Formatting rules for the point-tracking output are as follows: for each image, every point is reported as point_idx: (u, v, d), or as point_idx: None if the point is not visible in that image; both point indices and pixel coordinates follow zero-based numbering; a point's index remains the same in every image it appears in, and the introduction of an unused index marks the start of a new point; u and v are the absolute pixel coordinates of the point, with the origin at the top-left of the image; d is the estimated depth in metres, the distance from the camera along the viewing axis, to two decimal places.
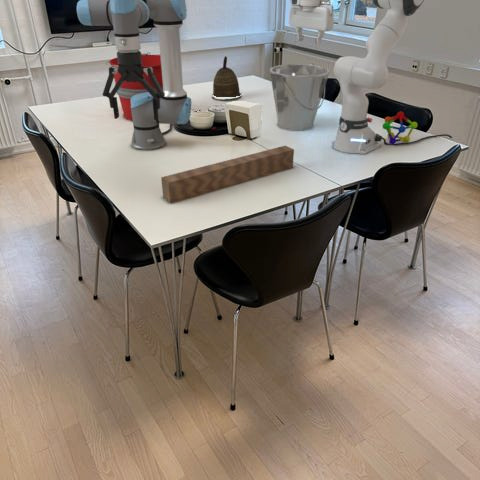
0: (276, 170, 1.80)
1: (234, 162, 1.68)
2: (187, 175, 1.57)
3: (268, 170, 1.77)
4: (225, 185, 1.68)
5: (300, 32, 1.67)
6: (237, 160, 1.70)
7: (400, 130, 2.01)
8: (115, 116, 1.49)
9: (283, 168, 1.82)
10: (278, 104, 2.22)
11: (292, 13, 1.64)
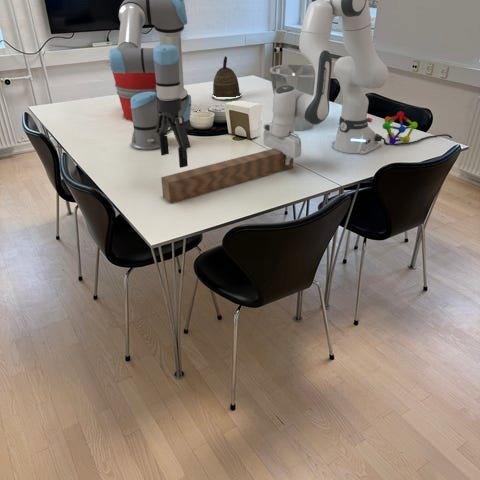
0: (276, 170, 1.80)
1: (234, 162, 1.68)
2: (187, 175, 1.57)
3: (268, 170, 1.77)
4: (225, 185, 1.68)
5: None
6: (237, 160, 1.70)
7: (400, 130, 2.01)
8: None
9: (283, 168, 1.82)
10: None
11: (265, 136, 1.83)
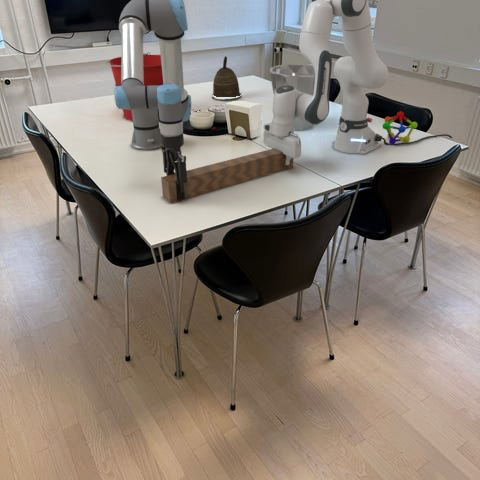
0: (276, 170, 1.80)
1: (234, 162, 1.68)
2: (187, 175, 1.57)
3: (268, 170, 1.77)
4: (225, 185, 1.68)
5: None
6: (237, 160, 1.70)
7: (400, 130, 2.01)
8: None
9: (283, 168, 1.82)
10: None
11: (265, 136, 1.83)
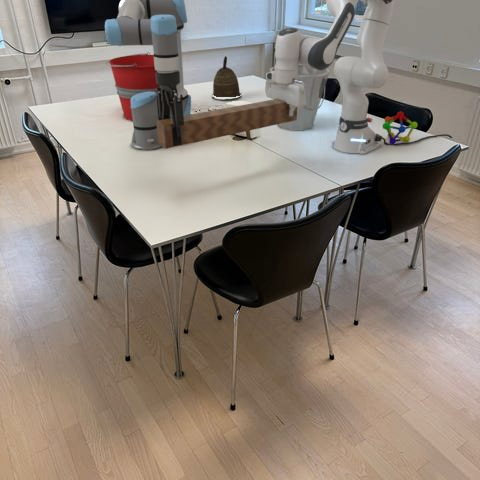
0: (278, 122, 1.70)
1: (234, 109, 1.58)
2: (184, 119, 1.47)
3: (270, 121, 1.67)
4: (225, 134, 1.57)
5: None
6: (237, 108, 1.59)
7: (400, 130, 2.01)
8: None
9: (286, 120, 1.71)
10: None
11: (268, 86, 1.73)
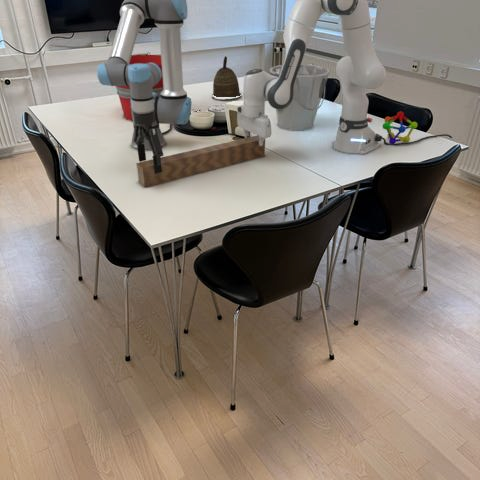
0: (248, 159, 1.91)
1: (206, 150, 1.79)
2: (161, 161, 1.68)
3: (240, 158, 1.88)
4: (198, 171, 1.79)
5: (247, 132, 1.95)
6: (209, 148, 1.81)
7: (400, 130, 2.01)
8: None
9: (255, 156, 1.93)
10: None
11: (239, 118, 1.92)
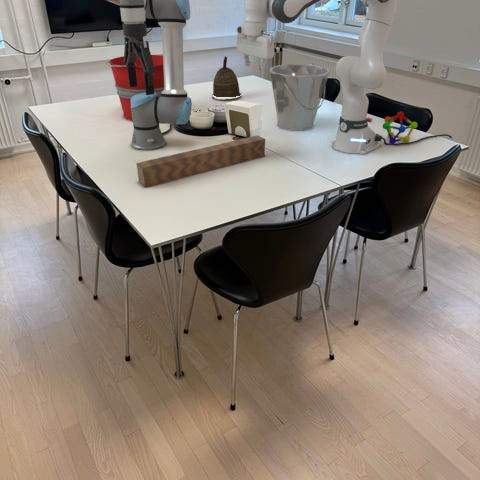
0: (248, 159, 1.91)
1: (206, 150, 1.79)
2: (161, 161, 1.68)
3: (240, 158, 1.88)
4: (198, 171, 1.79)
5: (247, 58, 1.78)
6: (209, 148, 1.81)
7: (400, 130, 2.01)
8: None
9: (255, 156, 1.93)
10: (278, 104, 2.22)
11: (238, 41, 1.76)
